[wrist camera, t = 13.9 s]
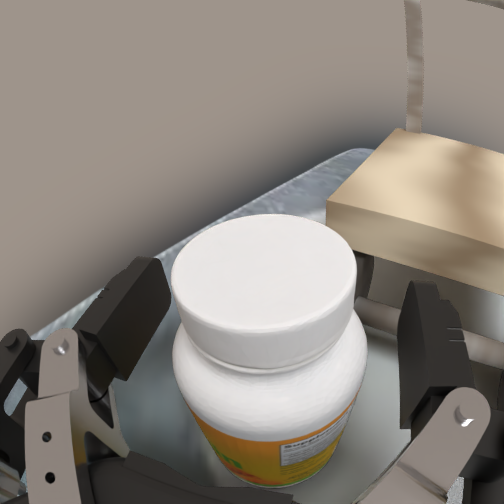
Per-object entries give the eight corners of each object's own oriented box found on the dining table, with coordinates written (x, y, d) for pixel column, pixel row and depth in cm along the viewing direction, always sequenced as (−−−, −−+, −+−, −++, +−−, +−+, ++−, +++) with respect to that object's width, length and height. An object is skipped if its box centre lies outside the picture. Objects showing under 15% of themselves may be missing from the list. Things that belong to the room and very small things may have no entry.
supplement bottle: (196, 417, 13) (117, 243, 8) (292, 369, 15) (291, 185, 10) (252, 511, 9) (190, 424, 4) (360, 445, 11) (440, 273, 6)
